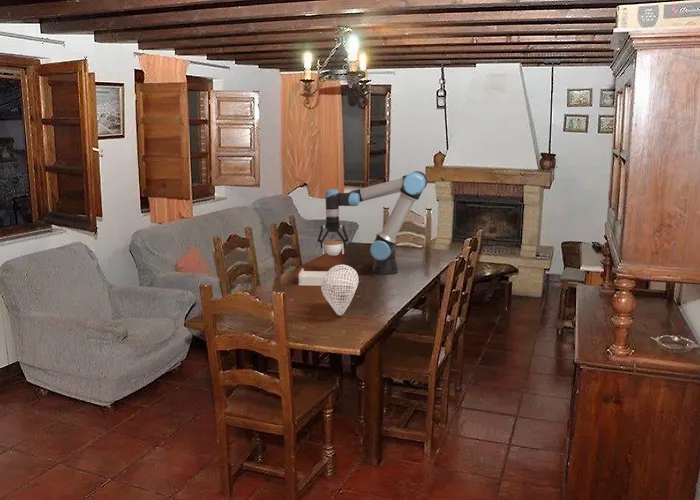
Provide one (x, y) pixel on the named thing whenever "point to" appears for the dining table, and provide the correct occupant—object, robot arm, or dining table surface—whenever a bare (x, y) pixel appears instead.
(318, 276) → the pusher lane
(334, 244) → the lidded jar
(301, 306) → the dining table surface
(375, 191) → the robot arm
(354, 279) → the heart
